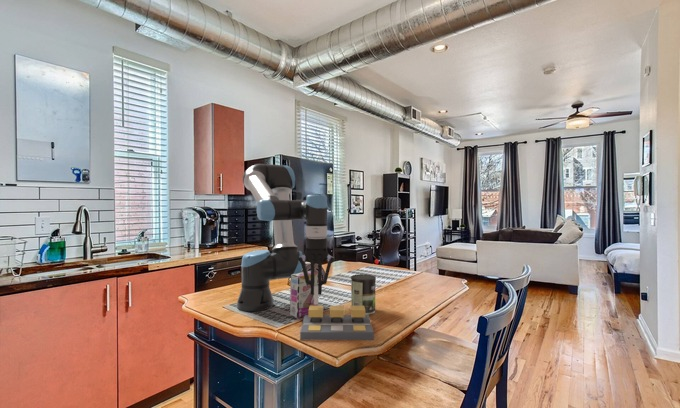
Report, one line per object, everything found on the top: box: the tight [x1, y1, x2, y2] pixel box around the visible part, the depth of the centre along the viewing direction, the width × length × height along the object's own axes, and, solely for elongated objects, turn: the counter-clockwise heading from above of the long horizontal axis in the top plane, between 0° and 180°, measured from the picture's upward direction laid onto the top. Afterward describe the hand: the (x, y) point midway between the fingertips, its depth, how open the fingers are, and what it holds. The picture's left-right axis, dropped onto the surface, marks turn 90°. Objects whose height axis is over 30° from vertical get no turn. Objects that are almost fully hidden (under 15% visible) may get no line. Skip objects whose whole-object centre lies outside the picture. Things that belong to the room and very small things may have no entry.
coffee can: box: [350, 273, 377, 316], centre depth 131 cm, size 10×10×14 cm
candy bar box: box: [289, 270, 318, 319], centre depth 127 cm, size 11×5×16 cm, turn 141°
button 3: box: [350, 305, 365, 322], centre depth 114 cm, size 5×5×5 cm
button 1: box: [308, 304, 324, 322], centre depth 114 cm, size 5×5×5 cm
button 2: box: [329, 305, 345, 322], centre depth 114 cm, size 5×5×5 cm
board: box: [299, 314, 375, 341], centre depth 111 cm, size 24×16×3 cm, turn 91°
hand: (316, 303), depth 114 cm, fingers closed
